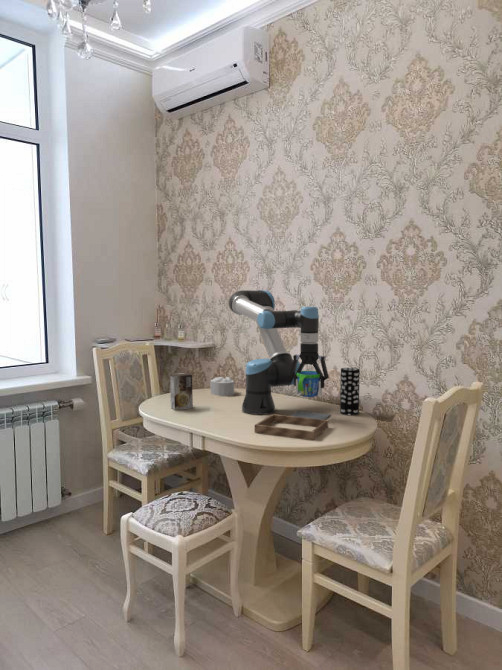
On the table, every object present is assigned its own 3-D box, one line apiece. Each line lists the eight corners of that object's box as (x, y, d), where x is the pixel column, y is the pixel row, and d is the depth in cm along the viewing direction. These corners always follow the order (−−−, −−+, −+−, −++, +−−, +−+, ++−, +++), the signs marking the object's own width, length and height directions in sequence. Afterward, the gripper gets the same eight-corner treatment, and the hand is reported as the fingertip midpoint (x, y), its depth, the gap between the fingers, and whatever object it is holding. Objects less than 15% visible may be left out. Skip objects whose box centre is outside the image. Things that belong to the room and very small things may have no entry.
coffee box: (188, 405, 248) (188, 372, 246) (193, 408, 242) (192, 374, 240) (170, 407, 244) (169, 373, 242) (174, 410, 238) (173, 375, 236)
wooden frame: (254, 432, 202) (254, 425, 201) (272, 421, 219) (272, 414, 218) (313, 440, 192) (313, 432, 191) (327, 427, 209) (328, 420, 209)
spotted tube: (358, 415, 228) (359, 370, 226) (339, 414, 230) (340, 370, 228) (358, 411, 236) (359, 368, 234) (340, 410, 238) (341, 367, 236)
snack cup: (309, 400, 214) (309, 376, 213) (288, 397, 221) (288, 373, 220) (329, 394, 226) (329, 371, 225) (308, 391, 233) (309, 369, 232)
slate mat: (286, 420, 221) (286, 418, 220) (297, 412, 234) (297, 411, 234) (320, 423, 214) (320, 422, 214) (330, 415, 228) (330, 414, 228)
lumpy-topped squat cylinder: (222, 390, 283) (222, 375, 282) (238, 394, 274) (238, 378, 273) (207, 393, 276) (207, 377, 275) (224, 397, 267) (224, 380, 266)
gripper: (282, 342, 222) (281, 393, 224) (332, 344, 213) (331, 398, 215) (288, 341, 229) (287, 390, 231) (337, 343, 220) (336, 395, 222)
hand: (308, 394), depth 223 cm, fingers closed on snack cup, 9 cm apart
